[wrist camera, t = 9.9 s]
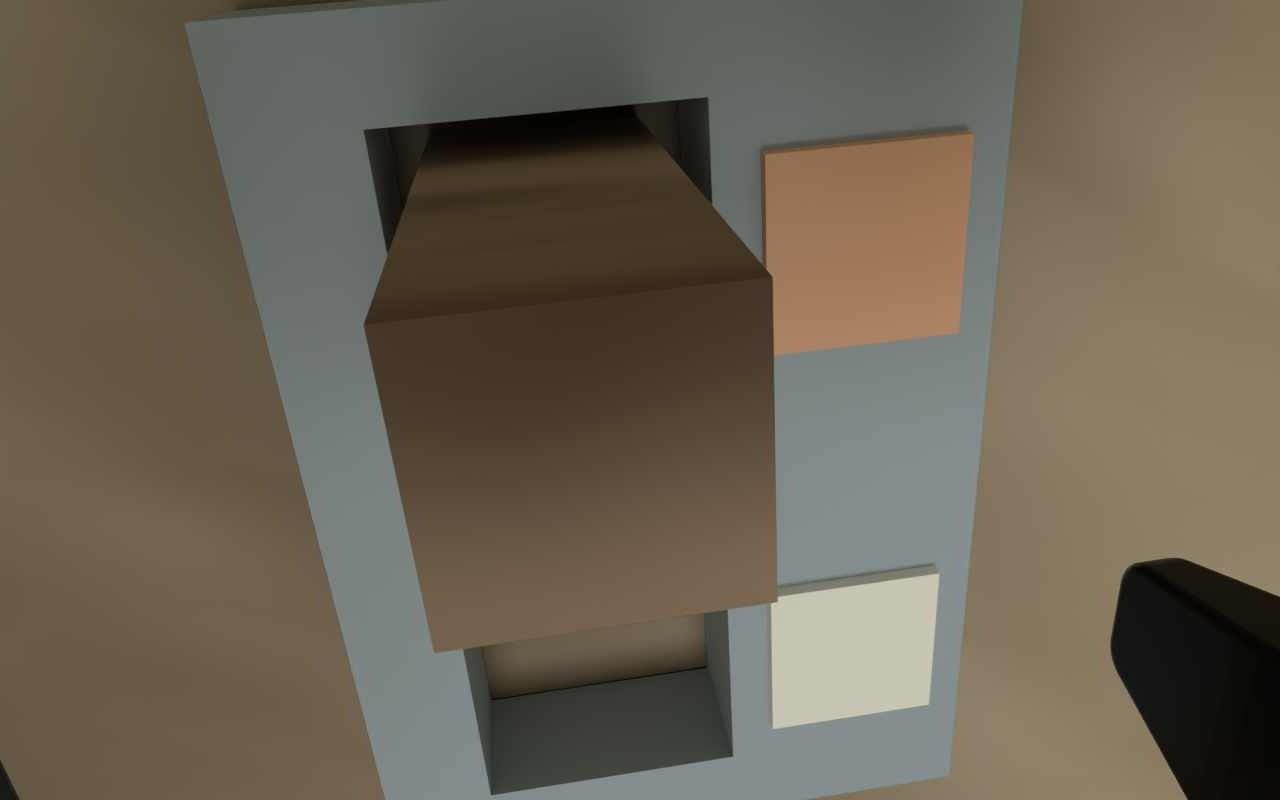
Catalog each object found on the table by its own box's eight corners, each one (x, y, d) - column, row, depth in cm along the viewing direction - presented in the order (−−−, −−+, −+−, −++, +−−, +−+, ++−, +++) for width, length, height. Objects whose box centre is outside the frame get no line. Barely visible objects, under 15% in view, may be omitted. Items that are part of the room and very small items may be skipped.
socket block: (901, 689, 26) (954, 785, 23) (412, 765, 25) (401, 877, 22) (948, -49, 18) (1037, -48, 15) (233, 10, 17) (177, 23, 14)
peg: (651, 311, 20) (777, 602, 11) (461, 334, 20) (433, 653, 11) (637, 117, 18) (773, 276, 10) (428, 138, 18) (363, 325, 9)
